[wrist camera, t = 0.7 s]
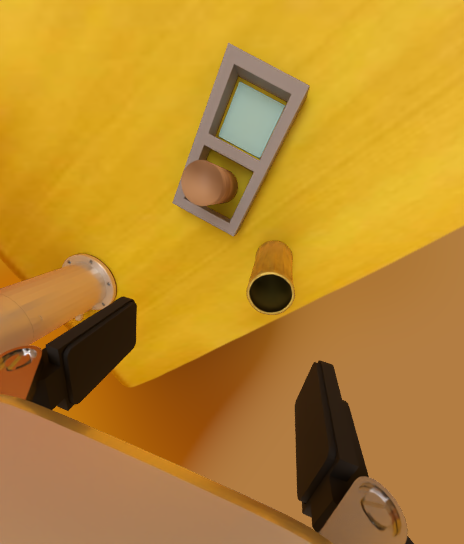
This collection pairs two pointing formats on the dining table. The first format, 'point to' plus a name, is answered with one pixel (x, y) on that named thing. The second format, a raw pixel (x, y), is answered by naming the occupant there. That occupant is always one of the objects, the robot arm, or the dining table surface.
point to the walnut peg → (208, 183)
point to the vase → (272, 279)
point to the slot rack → (244, 127)
